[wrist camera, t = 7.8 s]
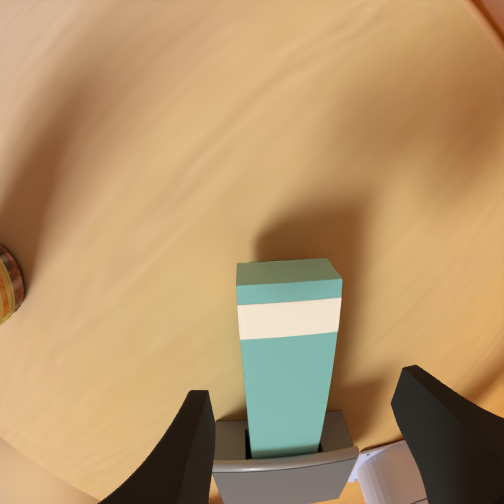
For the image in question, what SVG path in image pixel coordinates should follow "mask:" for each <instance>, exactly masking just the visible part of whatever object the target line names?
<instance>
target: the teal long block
mask: <svg viewBox="0 0 504 504" xmlns="http://www.w3.org/2000/svg"><path fill="white" fill-rule="evenodd" d="M342 280H343V279H342V277H341V276H340V275H339V273H338V272H337V271H336V269H335V268H334V267H333V265H332V264H331V263H330V261H329V260H328V259H327V258H316V259H300V260H283V261H266V262H249V263H237V277H236V290H237V308H238V320H239V332H240V340H241V350H242V362H243V373H244V384H245V394H246V405H247V415H248V425H249V435H250V444H251V454H252V459H268V458H280V457H290V456H299V455H307V454H314V453H317V451H318V446H319V442H320V437H321V432H322V427H323V422H324V417H325V412H326V406H327V401H328V395H329V389H330V383H331V376H332V370H333V363H334V356H335V348H336V340H337V332H338V327H339V318H340V309H341V298H342V297H341V292H342Z"/></svg>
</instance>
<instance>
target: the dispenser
mask: <svg viewBox="0 0 504 504" xmlns="http://www.w3.org/2000/svg"><path fill="white" fill-rule="evenodd" d="M215 424H216V439H215V455H214V462H213V469H212V474H213V477H214V480H215V482H216V485H217V488H218V490H219V493H220V496H221V498H222V501H223V503H224V504H309V503H316V502H322V501H327V500H333V499H338V498H339V496H340V494H341V492H342V490H343V488H344V486H345V484H346V482H347V480H348V478H349V476H350V474H351V472H352V470H353V468H354V465H355V463H356V461H357V459H358V456H359V449H358V446H354V445H353V442H352V439H351V436H350V433H349V430H348V427H347V424H346V422H345V419H344V416H343V413H342V410H339V411H333V412H327V413H325V417H324V422H323V427H322V432H321V437H320V442H319V446H318V451H317V453H314V454H307V455H299V456H290V457H280V458H268V459H252V454H251V444H250V435H249V425H248V420H246V421H215Z"/></svg>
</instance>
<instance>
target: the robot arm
mask: <svg viewBox="0 0 504 504" xmlns="http://www.w3.org/2000/svg"><path fill="white" fill-rule="evenodd" d="M391 406H392V409H393V412H394V416H395V419H396V421H397V424H398V427H399V429H400V431H401V433H402V435H403V437H404V439H405V440H402V441H399V442H396V443H392V444H389V445H385V446H382V447H378V448H374V449H370V450H366V451H362V452H361V453H360V454H359V456H358V459H357V461H356V463H355V465H354V468H353V470H352V472H351V474H350V476H349V478H348V482H354V481H358V480H359V483H360V487H361V490H362V493H363V496H364V500H365V503H366V504H504V418H502V417H499V416H497V415H495V414H493V413H491V412H488V411H486V410H484V409H482V408H481V407H479V406H477V405H475V404H474V403H472V402H470V401H469V400H467V399H465V398H464V397H462V396H461V395H459V394H458V393H456V392H455V391H453V390H452V389H450V388H449V387H447V386H446V385H444V384H443V383H442V382H440V381H439V380H437V379H436V378H435V377H433V376H432V375H430V374H429V373H428V372H426V371H425V370H423V369H422V368H420V367H419V366H417V365H412V366H408V367H404V368H403V369H402V372H401V375H400V378H399V381H398V384H397V387H396V390H395V393H394V395H393V398H392V401H391ZM215 439H216V424H215V420H214V415H213V411H212V406H211V401H210V397H209V392H208V390H191V391H189V392H188V394H187V397H186V399H185V400H184V402H183V404H182V406H181V408H180V410H179V412H178V413H177V415H176V417H175V418H174V420H173V422H172V423H171V425H170V426H169V428H168V430H167V431H166V433H165V434H164V436H163V437H162V439H161V440H160V441H159V443H158V444H157V445H156V447H155V448H154V449H153V451H152V452H151V453H150V455H149V456H148V457H147V458H146V460H145V461H144V462H143V463H142V464H141V465H140V466H139V468H138V469H137V470H136V471H135V472H134V473H133V474H132V475H131V476H130V477H129V478H128V479H127V480H126V481H125V482H124V483H123V484H122V485H121V486H120V487H118V488H117V489H116V490H115V491H114V492H113V493H111V494H110V495H109V496H107V497H106V498H105V499H103V500H102V501H101V502H100V503H98V504H208V499H209V491H210V484H211V476H212V469H213V462H214V455H215Z"/></svg>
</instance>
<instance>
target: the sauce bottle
mask: <svg viewBox="0 0 504 504" xmlns="http://www.w3.org/2000/svg"><path fill="white" fill-rule="evenodd" d="M23 298H24V286H23V279H22V276H21V271H20V270H19V267H18V264H17V263H16V262H15V260H14V258H13V257H12V256H11V254H10V253H9V252H8V251H7V250H6V248H5V247H3V246H2V245H0V325H2V324H3V323H4V322H5V321H6V320H8V319H9V318H10V317H11V315H12V314H13V313H14V312H15V311H17V309H18V308H19V307H20V306H21V303H22V302H23Z"/></svg>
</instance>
